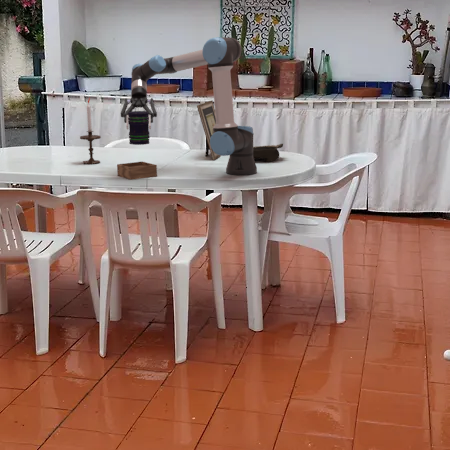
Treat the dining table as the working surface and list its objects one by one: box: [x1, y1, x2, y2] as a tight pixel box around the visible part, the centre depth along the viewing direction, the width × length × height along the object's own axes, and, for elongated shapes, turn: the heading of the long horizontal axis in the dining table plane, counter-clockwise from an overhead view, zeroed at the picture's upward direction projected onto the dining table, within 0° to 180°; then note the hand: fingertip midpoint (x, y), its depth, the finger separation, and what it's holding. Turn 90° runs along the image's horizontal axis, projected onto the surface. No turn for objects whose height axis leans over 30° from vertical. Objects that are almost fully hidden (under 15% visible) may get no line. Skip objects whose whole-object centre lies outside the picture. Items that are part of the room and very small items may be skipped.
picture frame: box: [196, 100, 221, 161], centre depth 419 cm, size 33×10×30 cm, turn 168°
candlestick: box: [79, 97, 102, 165], centre depth 398 cm, size 11×11×35 cm
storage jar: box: [128, 110, 151, 146], centre depth 358 cm, size 10×10×15 cm
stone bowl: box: [253, 143, 284, 163], centre depth 406 cm, size 25×25×9 cm
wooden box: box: [116, 161, 158, 181], centre depth 361 cm, size 14×14×6 cm
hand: (138, 127), depth 354 cm, fingers closed on storage jar, 10 cm apart
